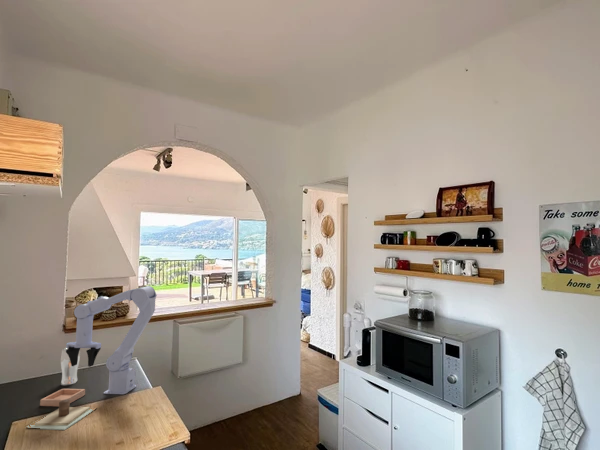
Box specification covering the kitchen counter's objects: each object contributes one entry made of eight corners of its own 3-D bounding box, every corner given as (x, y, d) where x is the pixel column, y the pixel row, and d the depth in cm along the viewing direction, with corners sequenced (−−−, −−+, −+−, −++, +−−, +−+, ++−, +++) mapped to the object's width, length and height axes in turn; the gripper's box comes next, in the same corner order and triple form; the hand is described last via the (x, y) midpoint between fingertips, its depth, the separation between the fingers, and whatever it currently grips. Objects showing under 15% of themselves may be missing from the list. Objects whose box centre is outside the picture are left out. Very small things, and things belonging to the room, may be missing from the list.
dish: (85, 394, 129) (85, 389, 129) (64, 406, 119) (64, 400, 119) (62, 394, 130) (62, 388, 130) (40, 405, 120) (40, 399, 120)
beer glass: (71, 386, 138) (72, 350, 139) (55, 386, 138) (57, 350, 139) (82, 379, 145) (83, 346, 146) (67, 379, 145) (69, 346, 146)
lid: (89, 408, 116) (90, 394, 116) (67, 425, 105) (68, 408, 105) (59, 409, 116) (60, 394, 116) (34, 425, 105) (35, 409, 105)
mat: (96, 409, 116) (96, 408, 116) (64, 430, 102) (64, 428, 102) (61, 407, 118) (62, 406, 118) (25, 428, 104) (25, 427, 104)
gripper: (60, 334, 131) (58, 368, 130) (93, 335, 129) (91, 369, 128) (74, 330, 138) (72, 362, 137) (105, 331, 136) (103, 363, 135)
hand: (82, 365), depth 133 cm, fingers open, 7 cm apart
